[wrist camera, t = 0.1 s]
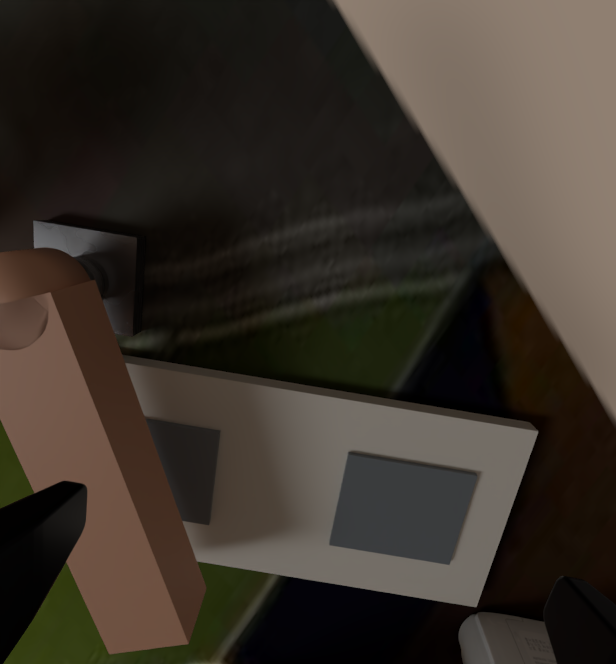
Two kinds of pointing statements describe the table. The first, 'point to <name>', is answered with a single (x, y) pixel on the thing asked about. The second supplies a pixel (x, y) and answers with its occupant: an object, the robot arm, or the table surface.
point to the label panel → (333, 480)
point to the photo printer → (504, 640)
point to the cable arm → (94, 451)
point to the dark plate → (104, 266)
